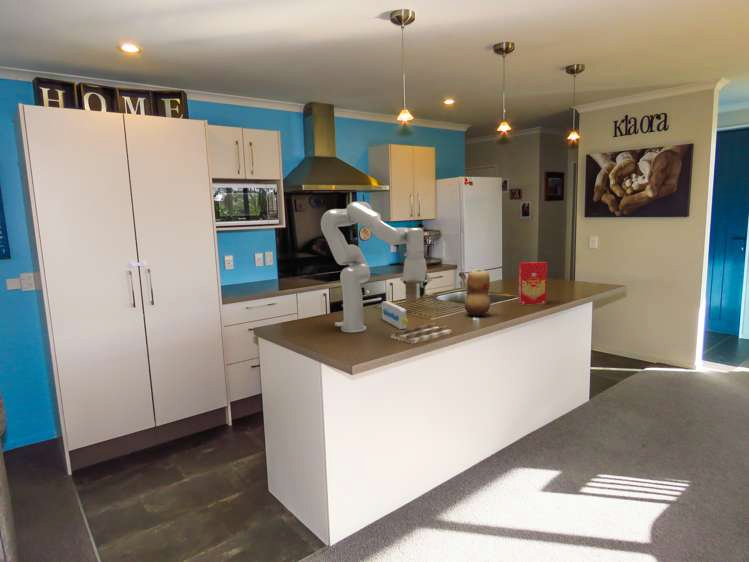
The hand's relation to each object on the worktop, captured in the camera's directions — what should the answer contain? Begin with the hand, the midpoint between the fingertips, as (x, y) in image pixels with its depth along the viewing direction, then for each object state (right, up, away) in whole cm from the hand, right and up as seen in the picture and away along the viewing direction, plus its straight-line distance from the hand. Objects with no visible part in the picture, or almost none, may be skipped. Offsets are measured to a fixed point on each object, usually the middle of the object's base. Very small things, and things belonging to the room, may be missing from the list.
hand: (415, 295), depth 216 cm
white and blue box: (-8, -16, +27) cm, 33 cm away
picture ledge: (+3, -19, +5) cm, 20 cm away
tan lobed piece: (+37, -12, +43) cm, 58 cm away
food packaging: (+75, -8, +69) cm, 103 cm away
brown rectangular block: (0, -2, 0) cm, 2 cm away
